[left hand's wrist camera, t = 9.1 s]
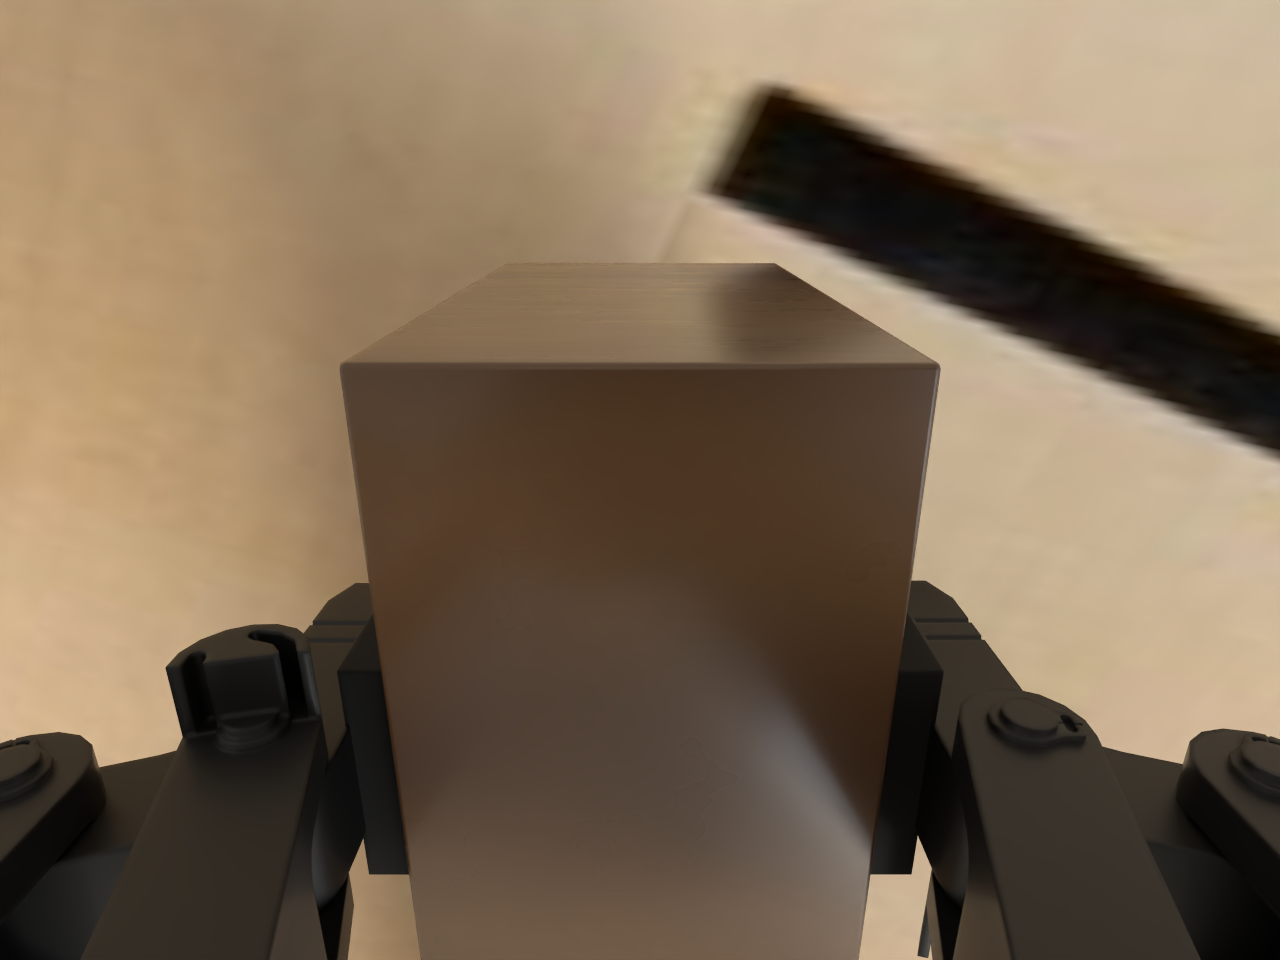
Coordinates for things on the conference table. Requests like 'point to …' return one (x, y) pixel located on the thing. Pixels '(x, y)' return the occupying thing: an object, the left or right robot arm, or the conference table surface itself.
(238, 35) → the conference table surface
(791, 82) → the conference table surface
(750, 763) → the beam
